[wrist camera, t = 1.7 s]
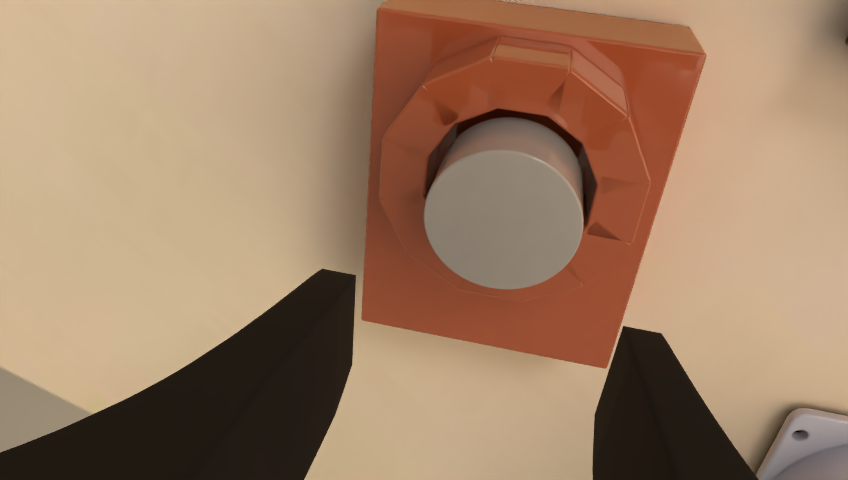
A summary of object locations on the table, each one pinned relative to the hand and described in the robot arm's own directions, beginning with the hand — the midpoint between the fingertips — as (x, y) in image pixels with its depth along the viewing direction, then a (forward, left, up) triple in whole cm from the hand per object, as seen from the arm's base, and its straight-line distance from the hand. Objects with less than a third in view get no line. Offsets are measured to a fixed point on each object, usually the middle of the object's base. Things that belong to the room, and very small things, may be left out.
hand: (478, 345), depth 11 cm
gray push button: (0, 0, -6) cm, 6 cm away
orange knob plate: (-1, 0, -10) cm, 11 cm away
